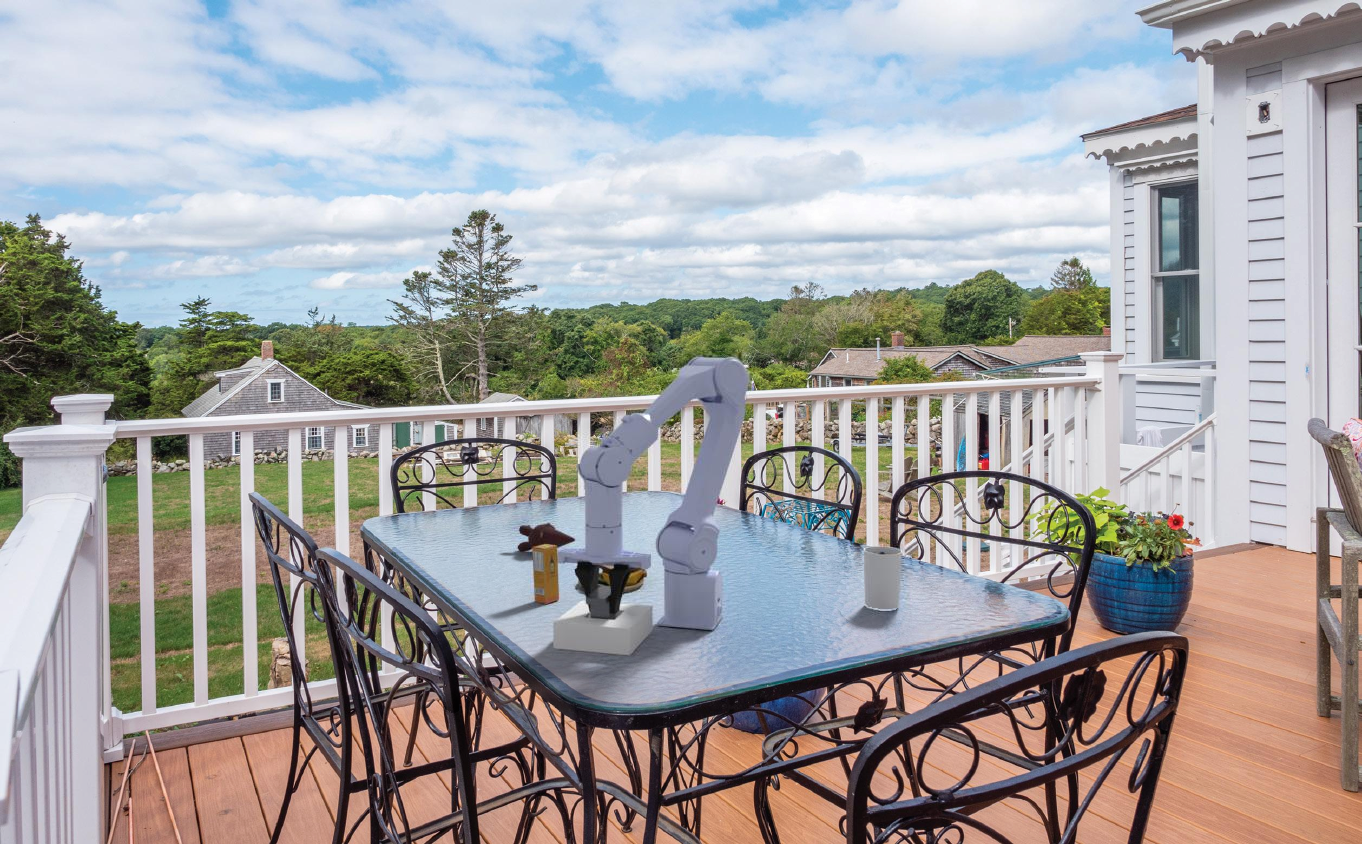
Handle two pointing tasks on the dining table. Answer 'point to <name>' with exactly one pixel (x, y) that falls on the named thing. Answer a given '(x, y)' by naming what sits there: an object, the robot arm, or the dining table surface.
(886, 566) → the drinking glass
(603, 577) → the toy sandwich meal
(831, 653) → the dining table surface
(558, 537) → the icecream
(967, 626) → the dining table surface
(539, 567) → the supplement box
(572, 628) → the well block
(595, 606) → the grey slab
